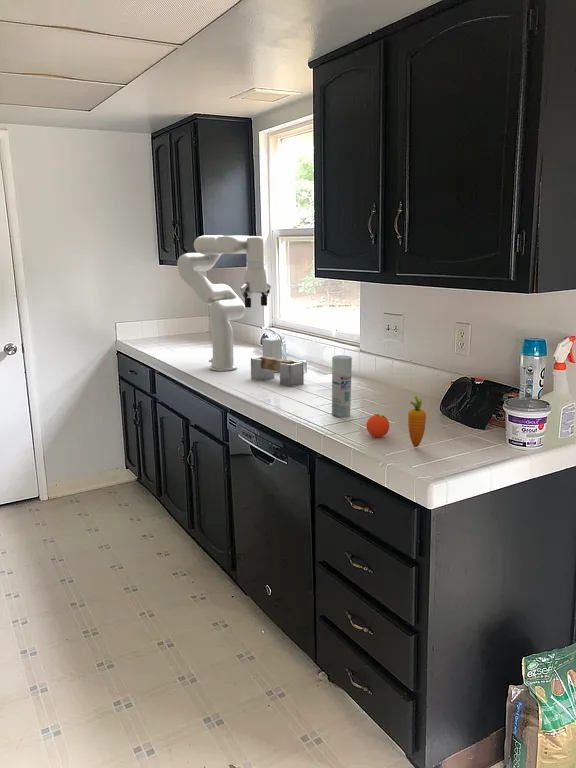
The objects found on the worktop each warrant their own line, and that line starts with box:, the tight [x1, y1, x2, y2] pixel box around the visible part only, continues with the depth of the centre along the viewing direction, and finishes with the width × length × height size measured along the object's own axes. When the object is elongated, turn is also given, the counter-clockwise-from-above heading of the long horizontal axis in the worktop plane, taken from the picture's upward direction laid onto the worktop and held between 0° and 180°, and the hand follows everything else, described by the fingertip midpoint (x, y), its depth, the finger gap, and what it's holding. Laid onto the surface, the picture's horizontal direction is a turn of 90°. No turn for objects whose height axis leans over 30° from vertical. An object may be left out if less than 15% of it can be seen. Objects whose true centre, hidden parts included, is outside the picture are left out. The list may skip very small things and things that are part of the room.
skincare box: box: [261, 337, 283, 373], centre depth 293 cm, size 8×6×15 cm
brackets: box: [250, 355, 305, 388], centre depth 272 cm, size 23×8×9 cm, turn 47°
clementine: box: [365, 413, 392, 438], centre depth 195 cm, size 8×7×7 cm
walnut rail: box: [259, 356, 295, 373], centre depth 271 cm, size 16×4×4 cm, turn 46°
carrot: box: [407, 396, 427, 448], centre depth 184 cm, size 5×5×15 cm
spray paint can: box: [331, 354, 353, 418], centre depth 218 cm, size 6×6×20 cm
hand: (256, 306), depth 278 cm, fingers open, 9 cm apart
